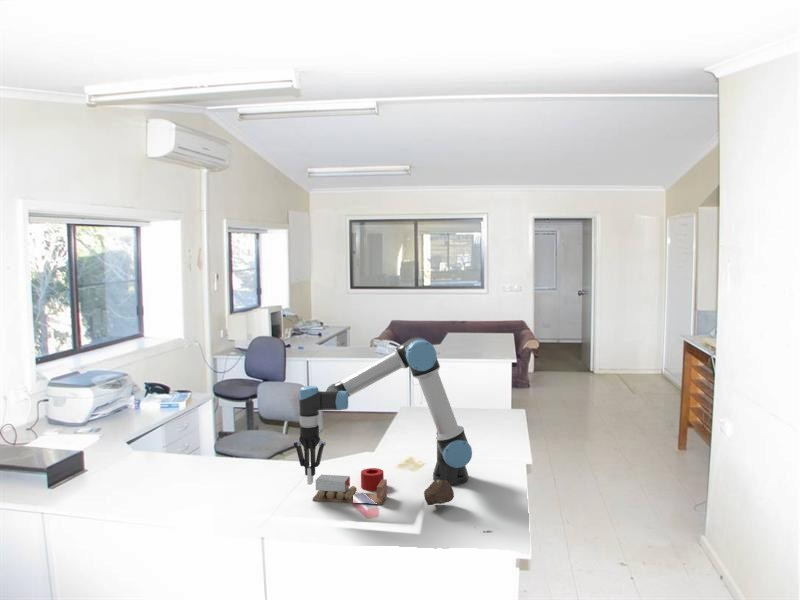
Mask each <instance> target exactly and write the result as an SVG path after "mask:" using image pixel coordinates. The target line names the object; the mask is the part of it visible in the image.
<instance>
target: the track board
mask: <svg viewBox="0 0 800 600" xmlns="http://www.w3.org/2000/svg"><path fill="white" fill-rule="evenodd" d="M337 493H338V492H337ZM337 493H336V494H337ZM355 493H358V492H357V491H356V492H355ZM363 493H364V494H366V495H367V496H368V497H369V498H370V499H372V500H373V501H374V502H375V503H377V504H378V505H377V506H382V505H384V503H385V501H386V499H387V497H388V481H387V479H386V478H385V479H382V480H381V481H380V483H379V484H378V486H377V491H376V493H374V492H373V493H372V492H363ZM326 494H327V493H326ZM326 494H325V496H324V497H323V498H318V497H317V493H316V494H315V495H314V496H313V497H312V502H329V503H341V504H343V503H344V504H354V503H353V496H352V498H351V499H350V500H346V499H345V497H344V498H343V499H341V500H340V499H337V497H336V495H335V496H334V497H333V498H332V499H328V498H327V496H326Z"/></svg>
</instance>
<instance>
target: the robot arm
mask: <svg viewBox="0 0 800 600" xmlns="http://www.w3.org/2000/svg"><path fill="white" fill-rule="evenodd" d="M408 368H409V369H410V372H411V374H412V377H413V378H415V379H417V380H418V382H419V385H420V387H421V390H422V393H423V396H424V398H425V401H426V405H427V407H428V409H429V412H430V416H431V418H432V420H433V422H434V426H435V428H436V433H435V434H436V438H435V439H436V463H435V467H434V469H433V471H432V472H433V475H432V479H433V482H434V481H436V480H447V481H448V482H449V484H450V485H451V486H452V485H453V486H454V485H461V484H465V483H466V482H468V481H469V473H468V470H467V467H466V466H467V464H469V462H470V461H471V460H472V457H473V450H472V449H473V448H472V447H471V446H472V445H470V444H469V441H468V438H467V436H466V434H465V429H464V426H461V425H459V424H458V423H457V422H458V421H457V420H456V417H455V415H454V411H453V409H452V405H451V403H450V401H449V398H448V396H447V393H446V389H445V386H444V384H443V382H442V379H441V376H440V373H439V370H440V368H441V365H440V363H439V360H438V357H437V351H436V348H435V347H434V345H433V344H432V343H431V342H429V340H427V339H426V338H424V337H421V336H414V337H411V338H410V339H408V340H406V341H405V342H403V343H402V344H400V345H398V346H397V347H395V348H394V350H393V351H392V352H391V353H390V354H387V355H386V356H384V357H382V358H380V359H378V360H376V361H374V362H372V363H371V364H370V365H367V366H365V367H364V368H362V369H360V370H358V371H357V372H354V373H352V374H351V375H349V376H347V377H345V378H343V379H342V380H340V381H338V382H336V383H332V384H330V385H329V386H328V387H327V388H326V391H325V390H324V391H321V390H319V387H318V386H315V385H305V386H302V387H300V388H299V399H298V400H299V403H298V404H299V406H298V407H299V425H300V426H299V435H300V436H299V438H298V440H296V441H295V442H293V446H294V447H295V449H296V453H297V457H298V461H299V465H300V467H304V472H305V473H304V475H305V476H306V478H307V485H312V484H313V483H314V476H315V475H316V468H318V467H319V466H320V465H321V460H322V456H323V452H324V447H325V446H326V444H327V442H325V441H322V440H321V438H320V425H319V423H320V422H319V421H320V420H319V419H320V416H319V412H320V411H342V410H348V408H349V398H350V397H351V396H353V395H354V394H356V393H359V392H360V391H361V390H364V389H366V388H368V387H370V386H371V385H373V384H375V383H377V382H378V381H380V380H382V379H385V378H386V377H388V376H390V375H391V374H393V373H395V372H398V370H401V369H408ZM317 446H318V450H317V454H316V448H317Z"/></svg>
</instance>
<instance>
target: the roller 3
mask: <svg viewBox="0 0 800 600" xmlns="http://www.w3.org/2000/svg"><path fill="white" fill-rule="evenodd" d="M357 491H358V490H357V487H356V486H355V485H352V486H351V485H350V486H349V490H348V491H347V492H346V494H345V496H344V497H345V499H346V500H350V499H351V498H352V496H353V495H354V494H355V492H357Z"/></svg>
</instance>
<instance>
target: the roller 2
mask: <svg viewBox="0 0 800 600" xmlns="http://www.w3.org/2000/svg"><path fill="white" fill-rule="evenodd" d="M349 489H350V487H349V488H348V489H347V490H346V492H347V491H348V490H349ZM346 492H338V493H337V494H336V497H337V499H340V500H341V499H343V498H344V496H345V494H346Z"/></svg>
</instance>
